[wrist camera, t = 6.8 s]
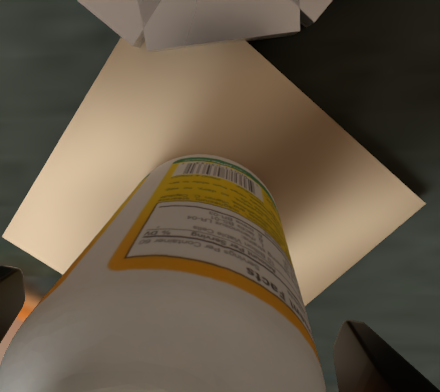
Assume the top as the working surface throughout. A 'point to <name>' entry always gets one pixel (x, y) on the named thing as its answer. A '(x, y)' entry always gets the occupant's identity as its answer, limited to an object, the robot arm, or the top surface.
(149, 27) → the grey octagonal ring
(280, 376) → the supplement bottle
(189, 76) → the coaster
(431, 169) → the top surface
